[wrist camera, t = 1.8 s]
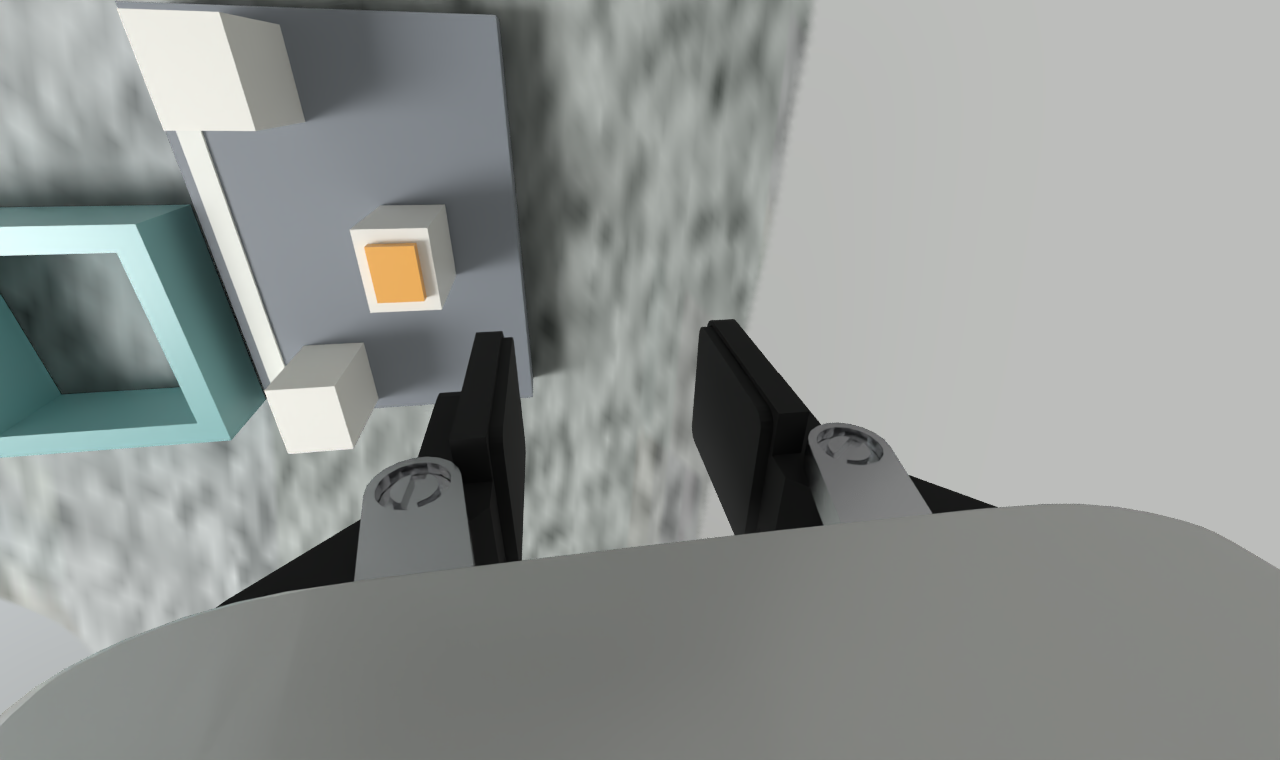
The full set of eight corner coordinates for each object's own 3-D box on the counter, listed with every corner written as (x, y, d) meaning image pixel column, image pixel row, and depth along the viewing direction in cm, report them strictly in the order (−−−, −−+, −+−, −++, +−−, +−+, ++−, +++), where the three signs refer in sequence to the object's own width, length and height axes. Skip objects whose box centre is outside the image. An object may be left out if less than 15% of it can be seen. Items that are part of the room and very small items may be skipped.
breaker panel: (153, 8, 19) (8, -19, 14) (499, 20, 21) (486, 0, 16) (291, 393, 27) (232, 468, 22) (533, 377, 29) (531, 443, 23)
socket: (-83, 208, 21) (-189, 230, 18) (190, 204, 22) (135, 224, 19) (48, 413, 25) (-19, 459, 22) (265, 399, 27) (230, 440, 24)
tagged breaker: (380, 205, 21) (345, 232, 18) (445, 204, 22) (425, 230, 18) (395, 277, 23) (367, 316, 19) (456, 275, 23) (439, 313, 19)
